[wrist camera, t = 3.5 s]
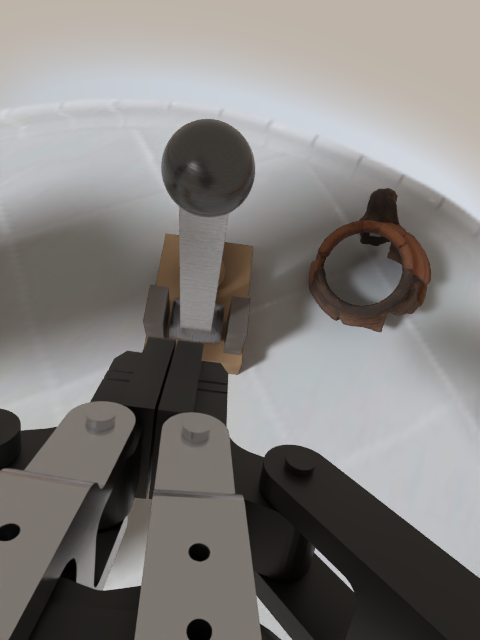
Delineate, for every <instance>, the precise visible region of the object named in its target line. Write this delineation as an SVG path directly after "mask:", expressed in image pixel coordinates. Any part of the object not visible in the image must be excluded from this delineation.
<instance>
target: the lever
mask: <svg viewBox="0 0 480 640" xmlns="http://www.w3.org/2000/svg"><path fill="white" fill-rule="evenodd" d="M161 168H162V177H163V182H164V184H165V187H166V190H167V191H168V193H169V195H170V196H171V198H172V199H173V200H174V202H175V203H176V204H177V205H178V206H179V238H180V299H179V298H175V299H174V302H173V307H172V313H171V320H170V329H169V339H176V340H184V341H191V342H199V343H207V344H214V345H219V344H220V338H221V331H222V324H223V316H224V307H225V305H222V304H215V300H216V294H217V287H218V280H219V274H220V267H221V261H222V254H223V248H224V241H225V234H226V228H227V221H228V215H229V213H230V212H232V211H233V210H235V209H236V208H237V207H239V206H240V205H241V204H242V203H243V202H244V200H245V199H246V198H247V196H248V194H249V192H250V191H251V188H252V185H253V182H254V177H255V162H254V157H253V153H252V150H251V148H250V146H249V144H248V142H247V141H246V139H245V138H244V137H243V136H242V134H241V133H240V132H239V131H237V130H236V129H235V128H233V127H232V126H230V125H229V124H227V123H224V122H222V121H218V120H213V119H201V120H196V121H193V122H191V123H188V124H186V125H184V126H183V127H181V128H180V129H179V130H178V131H176V132H175V134H174V135H173V136H172V137H171V139H170V140H169V141H168V143H167V145H166V148H165V150H164V153H163V157H162V166H161Z"/></svg>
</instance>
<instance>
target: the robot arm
mask: <svg viewBox="0 0 480 640" xmlns="http://www.w3.org/2000/svg"><path fill="white" fill-rule="evenodd" d="M203 348H204V343H197V342H190V341H182V340H178V342H177V345H176V340H174V339H166V338H159V337H151V336H149V338H148V340H147V342H146V345H145V347H144V349H143V352H142V353H139V352H132V351H126V352H125V353H123V354H121V355H120V356H118V357H116V358H115V359H114V360H113V362H112V364H111V366H110V368H109V371H107V373H106V375H105V376H104V379H103V380H102V382H101V384H100V385H99V387H98V389H97V391H96V393H95V394H94V396H93V398H92V400H91V402H90V403H86V404H82V405H80V406H78V407H76V408H74V409H72V410H71V411H70V412H69V413H68V414H67V415H66V416H65V418H64V419H63V420H62V422H61V423H60V424H59V426H58V427H54V428H47V429H36V430H24V431H21V424H20V420H19V418H18V417H17V416H16V415H15V414H14V413H12V412H10V411H8V410H4V409H0V640H281V639H280V638H278V637H277V636H276V635H275V634H274V633H273V632H271V631H270V630H269V629H267V628H266V627H264V626H263V625H261V624H260V622H259V614H258V606H257V598H256V595H257V597H258V598H259V599H260V600H261V602H262V603H263V604H264V605H265V606H266V608H267V609H268V610H269V611H270V613H271V614H272V615H273V616H274V618H275V619H276V620H277V621H278V622H279V624H280V625H281V626H282V627H283V629H284V630H285V631H286V632H287V634H288V635H289V636H290V637H291V638H292V640H480V578H478V577H477V576H476V575H475V574H473V573H472V572H471V571H469V570H468V569H467V568H466V567H464V566H463V565H462V564H460V563H459V562H458V561H457V560H455V559H454V558H453V557H451V556H450V555H449V554H448V553H446V552H445V551H444V550H442V549H441V548H440V547H439V546H437V545H436V544H435V543H433V542H432V541H431V540H430V539H428V538H427V537H426V536H424V535H423V534H422V533H421V532H419V531H418V530H417V529H415V528H414V527H413V526H412V525H410V524H409V523H408V522H406V521H405V520H404V519H403V518H401V517H400V516H399V515H397V514H396V513H395V512H394V511H392V510H391V509H390V508H388V507H387V506H386V505H385V504H383V503H382V502H381V501H379V500H378V499H377V498H376V497H374V496H373V495H372V494H370V493H369V492H368V491H367V490H365V489H364V488H363V487H361V486H360V485H359V484H358V483H356V482H355V481H354V480H352V479H351V478H350V477H349V476H347V475H346V474H345V473H343V472H342V471H341V470H340V469H338V468H337V467H336V466H334V465H333V464H332V463H331V462H329V461H328V460H327V459H325V458H324V457H323V456H321V455H320V454H318V453H317V452H315V451H313V450H311V449H308V448H305V447H302V446H297V445H281V446H277V447H274V448H272V449H271V450H269V451H268V452H267V453H266V455H265V457H262V456H259V455H256V454H253V453H251V452H248V451H246V450H244V449H242V448H241V447H239V446H238V445H236V444H235V443H234V442H233V441H232V440H231V438H230V437H229V431H228V429H227V427H226V422H227V391H228V386H227V385H228V372H227V371H226V370H225V368H224V367H223V366H222V364H221V363H216V362H208V361H202V356H203ZM150 480H151V483H150ZM149 484H150V493H149V499H152V506H151V514H150V522H149V530H148V538H147V545H146V553H145V561H144V569H143V577H142V585H141V586H137V587H130V588H123V589H115V590H107V591H103V588H104V585H105V583H106V580H107V578H108V575H109V572H110V570H111V567H112V564H113V562H114V559H115V557H116V554H117V551H118V549H119V546H120V544H121V541H122V538H123V536H124V533H125V530H126V527H127V521H128V514H129V512H130V510H131V507H132V504H133V500H134V497H135V498H144V499H146V496H147V492H148V488H149ZM315 548H316V549H317V550H318V551H319V552H320V553H322V554H323V555H324V556H325V557H326V558H327V559H328V560H329V561H330V562H331V563H332V564H333V565H334V566H335V567H336V568H337V569H338V570H339V571H340V572H341V573H342V574H343V575H344V576H345V577H346V578H347V580H348V581H349V583H350V584H351V586H352V588H353V590H354V592H353V591H352V590H351V589H350V588H349V587H348V586H347V585H346V584H345V583H344V582H343V581H342V580H341V579H340V578H339V577H338V576H337V575H336V574H335V573H334V572H333V571H332V570H331V569H330V568H329V567H328V566H327V565H326V564H325V563H324V562H323V561H322V560H321V559H320V558H319V557H318V556H317V555H316V554H315V553H314V550H315Z"/></svg>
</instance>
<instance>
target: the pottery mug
mask: <svg viewBox="0 0 480 640" xmlns="http://www.w3.org/2000/svg"><path fill="white" fill-rule="evenodd" d="M396 201H397V194H396V193H395V191H393V190H391V189H389V188H386V189H378V190H376V191H375V192H373V193H372V194H371V196H370V200H369V203H368V207H367V211H366V213H365V215H364V216H363V217H362V218H361V219H360V220H359V221H357V222H352V223H350V224H347V225H344V226H342V227H340V228H338V229H336V230H335V231H334V232H333V233H331V234H330V235H329V236H328V237H327V238H326V239H325V240H324V242H323V243H322V245H321V247H320V248H319V250H318V255H317V257H316V260H314V261H313V262H312V264H311V267H310V272H309V285H310V286H309V288H310V292H311V294H312V296H313V297H314V299H315V300H316V302H317V303H318V305H319V306H320V307H321V309H322V310H323V311H324V312H325V313H326V314H328V315H329V316H330V317H331V318H332V319H334V320H336V321H337V320H339V319H340V320H341V321H342V323H343V324H345V325H350V326H357V327H364V328H368V329H372V330H373V331H377V332H382V328H383V325H384V321H385V318H386V315H387V314H388V312H391V313H393V314H395V315H403V314H406V313H408V314H412V313H414V312H415V310H416V309H417V308H418V307H419V306H421V305H422V304H423V301H424V299H425V296H426V289H427V284H429V282H430V280H431V269H430V264H429V260H428V258H427V255H426V253H425V251H424V250H423V248H422V246H421V245H420V243H419V242H418V241H417V240H416V238H415V237H414V236H413V235H411V234H410V233H407V232H406V230H405V229H403V228H402V227H401V226H400V225H399V222H398V217H397V206H396ZM357 233H360V237H361V239H360V242H361V243H362V244H370V245H374V246H378V245H380V244H383V243H386V242H391V246H390V251H389V253H388V256H387V257H388V258H390V259H392V260H395V261H397V262H398V263H400V264H401V265H402V270H403V273H402V277H401V280H400V282H399V284H398V286H397V288H396V289H395V290H394V291H393V292H392V294H391V295H389V296H388V297H387V298H386V299H384V300H382V301H381V302H380V303H376V304H373V305H365V306H357V305H352V304H349V303H347V302H345V301H343V300H341V299H340V298H339V297H337V296H336V295H335V294H334V293H333V292H332V291H331V289H330V287H329V286H328V283H327V281H326V277H325V271H324V268H323V266H324V262H325V260H326V257H328V256H329V254H330V252H331V251H332V249H333V248H334V247H335V246H336V245H337V244H338V243H339V242H340V241H342V240H343V239H345V238H346V237H348V236H351V235H353V234H357ZM414 283H415V284H414Z"/></svg>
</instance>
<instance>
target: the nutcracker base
mask: <svg viewBox="0 0 480 640" xmlns="http://www.w3.org/2000/svg"><path fill="white" fill-rule="evenodd" d="M252 253H253V246H248V245H241V244H234V243H227V242H224V248H223V254H222V261H221V267H220V274H219V280H218V287H217V294H216V300H215V304H222V305H225V307H224V316H223V324H222V331H221V338H220V344H219V345H214V344H207V343H204V348H203V356H202V361H208V362H216V363H221V364H222V366H223V367H224V368H225V370H226V371H227V372H228V374H236V375H238V372H239V370H240V367H241V365H242V354H243V344H244V341H245V338H246V336H247V327H248V317H249V307H250V298H248V294H249V284H250V274H251V263H252ZM175 298H179V299H180V238H179V235H172V234H166V235H165V241H164V246H163V251H162V256H161V261H160V267H159V272H158V277H157V282H156V285H150V289H149V294H148V299H147V304H146V309H145V314H144V320H143V323H144V328H145V333H146V339H145V344H144V347H145V345H146V342H147V340H148V338H149V336H151V337H159V338H166V339H169V329H170V320H171V313H172V307H173V302H174V299H175ZM174 340H176V339H174ZM182 341H184V340H182ZM177 342H178V340H176V345H177ZM190 342H191V341H190ZM197 343H199V342H197Z"/></svg>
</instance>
